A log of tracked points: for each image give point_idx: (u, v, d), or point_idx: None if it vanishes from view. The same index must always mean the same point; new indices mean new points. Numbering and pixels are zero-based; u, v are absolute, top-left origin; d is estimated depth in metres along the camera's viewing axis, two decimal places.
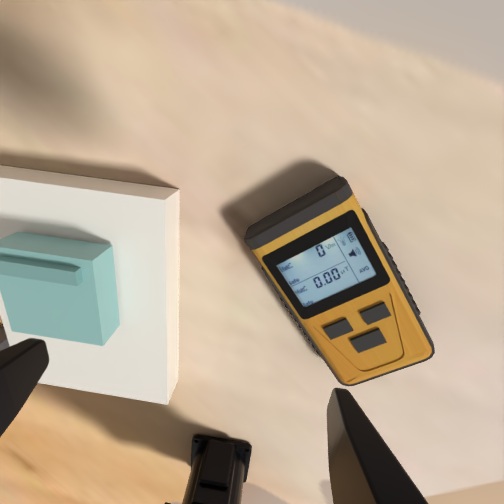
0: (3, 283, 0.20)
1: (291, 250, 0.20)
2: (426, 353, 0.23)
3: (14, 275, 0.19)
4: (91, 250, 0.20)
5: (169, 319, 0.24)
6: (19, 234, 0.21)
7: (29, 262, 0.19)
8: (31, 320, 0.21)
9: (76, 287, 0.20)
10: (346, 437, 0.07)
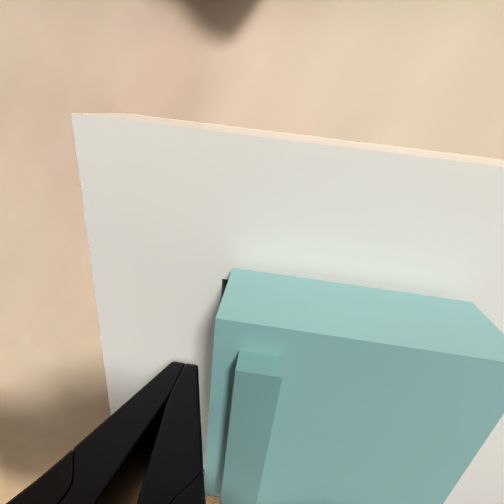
0: (290, 502, 0.09)
1: None
2: None
3: (256, 487, 0.08)
4: None
5: (456, 158, 0.08)
6: None
7: None
8: (399, 492, 0.09)
9: (302, 377, 0.07)
10: None
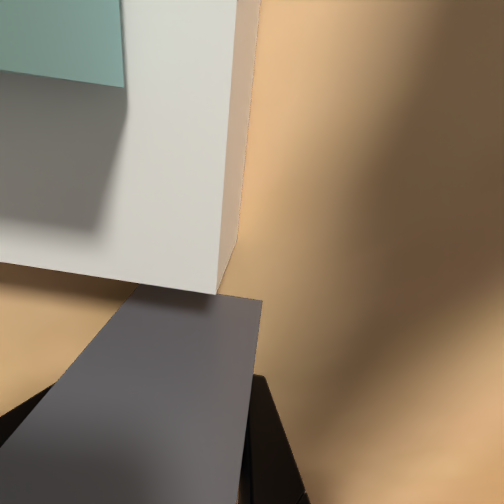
0: None
1: None
2: None
3: None
4: None
5: None
6: None
7: None
8: None
9: None
10: None
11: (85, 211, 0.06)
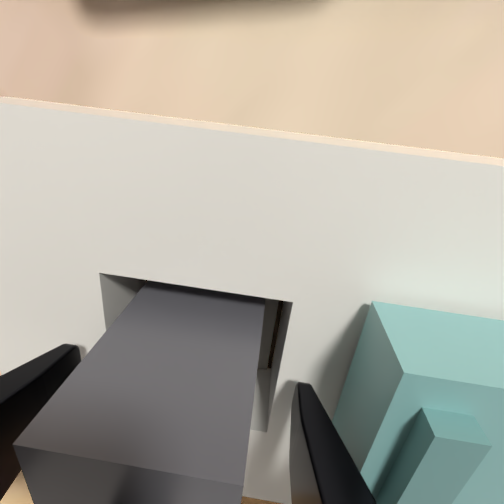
0: None
1: None
2: None
3: None
4: (374, 356, 0.07)
5: (331, 142, 0.07)
6: None
7: None
8: None
9: (491, 437, 0.06)
10: (301, 429, 0.07)
11: None
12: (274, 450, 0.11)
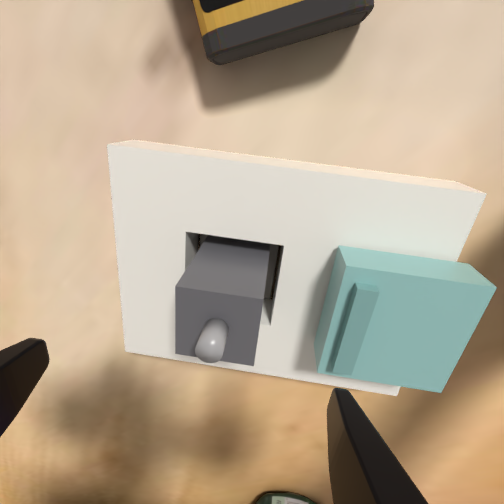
0: (367, 376, 0.17)
1: None
2: None
3: (355, 358, 0.16)
4: (338, 268, 0.16)
5: (301, 167, 0.16)
6: (315, 342, 0.19)
7: (340, 337, 0.16)
8: (428, 365, 0.16)
9: (384, 296, 0.15)
10: (346, 437, 0.07)
11: None
12: (274, 337, 0.20)
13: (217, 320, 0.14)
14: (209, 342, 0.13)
